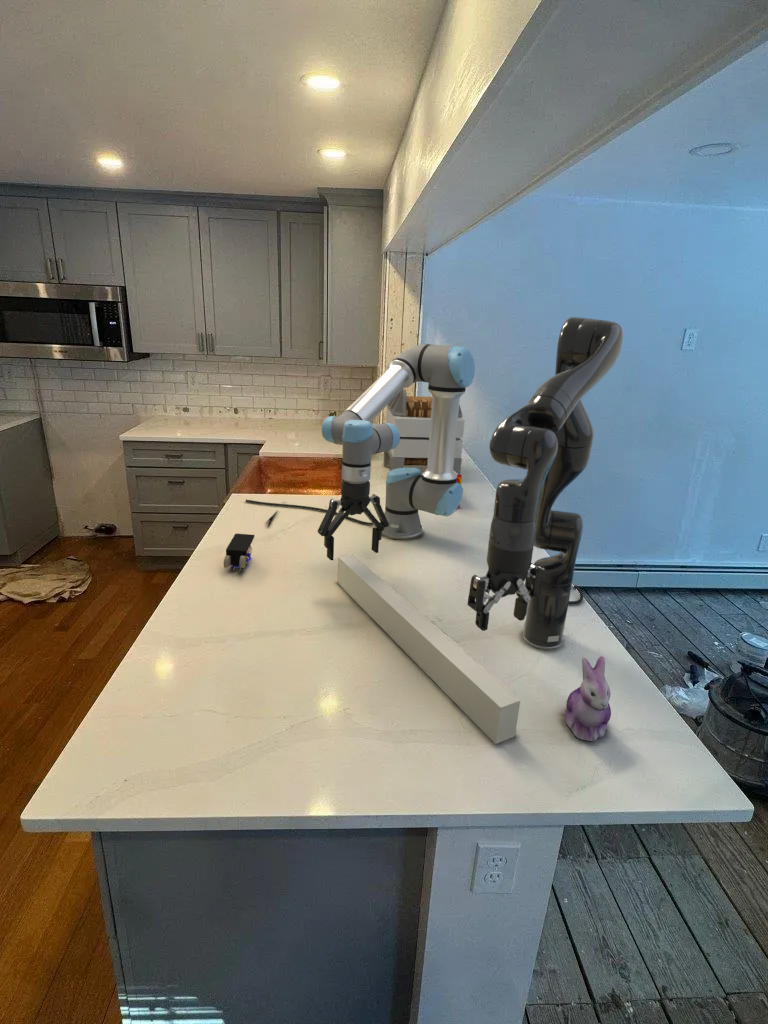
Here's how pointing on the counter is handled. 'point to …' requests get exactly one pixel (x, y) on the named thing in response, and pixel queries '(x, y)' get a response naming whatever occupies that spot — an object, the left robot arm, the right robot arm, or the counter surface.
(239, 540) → the black wheeled rover
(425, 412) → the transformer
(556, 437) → the right robot arm
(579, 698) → the figurine
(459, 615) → the counter surface
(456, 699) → the post
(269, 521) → the feather
